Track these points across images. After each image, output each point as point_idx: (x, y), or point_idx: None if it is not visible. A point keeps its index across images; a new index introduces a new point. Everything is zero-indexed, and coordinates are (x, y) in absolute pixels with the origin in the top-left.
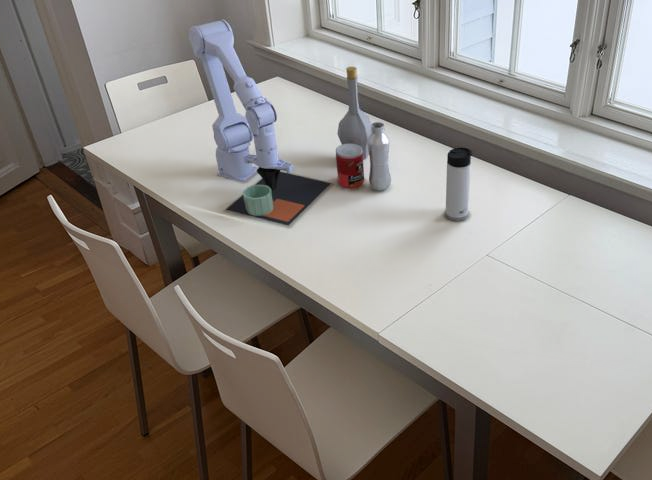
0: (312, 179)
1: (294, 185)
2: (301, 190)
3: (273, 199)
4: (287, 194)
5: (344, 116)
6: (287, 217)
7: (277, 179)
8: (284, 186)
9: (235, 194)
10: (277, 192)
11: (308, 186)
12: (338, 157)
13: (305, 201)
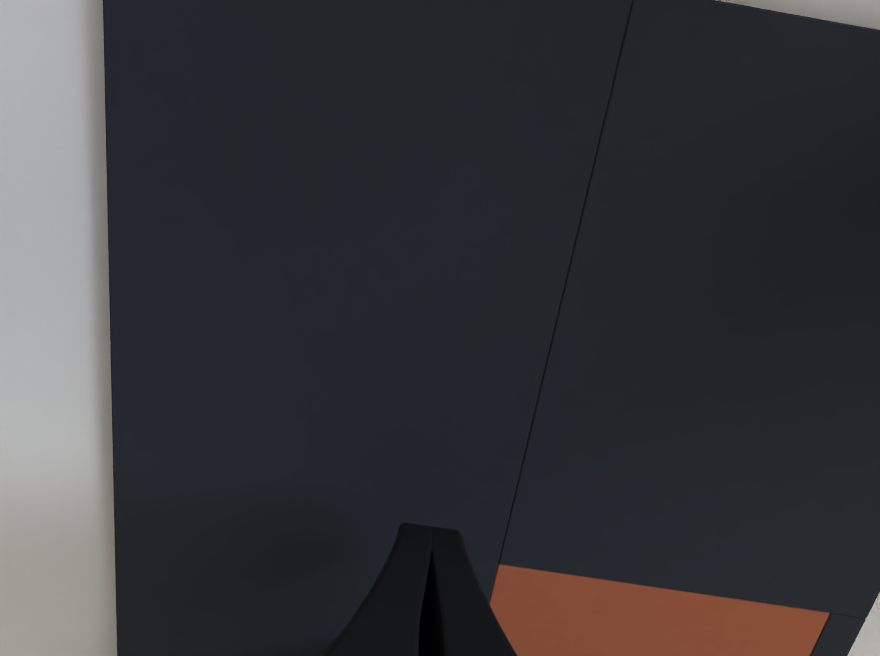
0: (827, 38)
1: (604, 269)
2: (728, 363)
3: None
4: (582, 476)
5: None
6: None
7: (495, 617)
8: (483, 323)
9: (30, 551)
10: (452, 462)
11: (800, 249)
12: None
13: (821, 554)
